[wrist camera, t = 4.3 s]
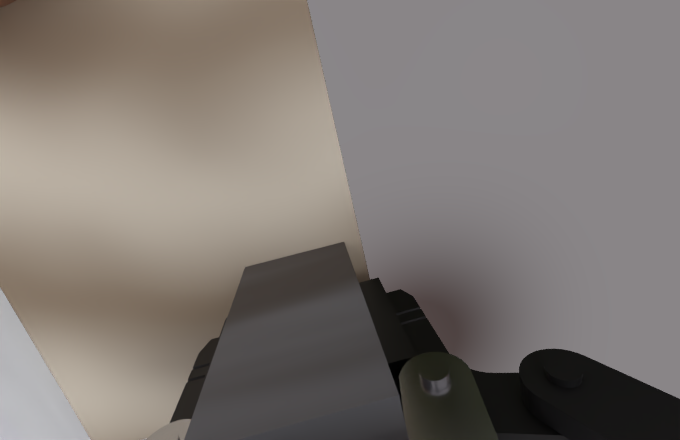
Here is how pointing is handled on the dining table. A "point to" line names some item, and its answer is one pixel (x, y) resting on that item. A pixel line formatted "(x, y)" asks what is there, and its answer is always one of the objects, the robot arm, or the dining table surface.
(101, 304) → the birch board
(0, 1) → the terracotta pot
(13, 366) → the dining table surface
